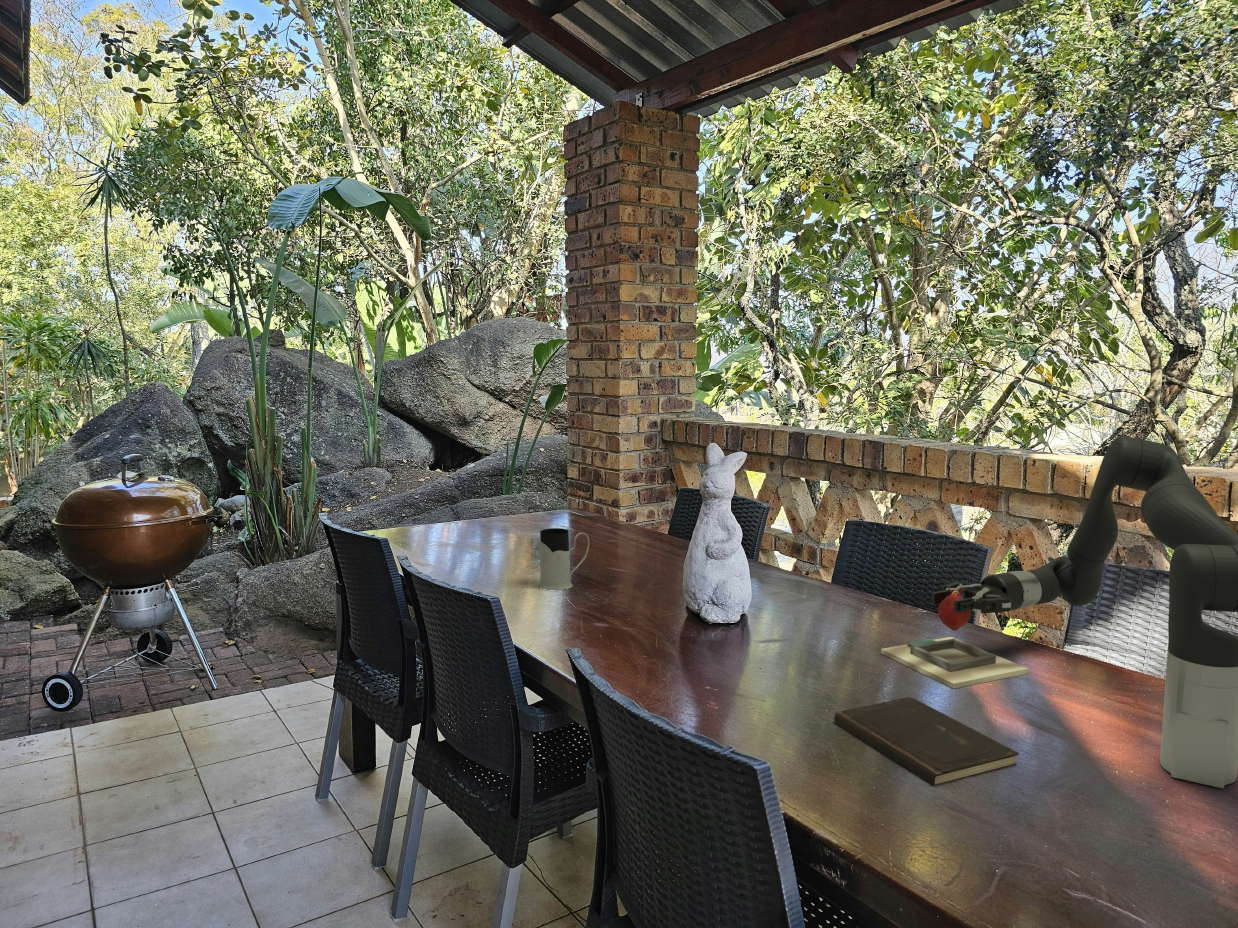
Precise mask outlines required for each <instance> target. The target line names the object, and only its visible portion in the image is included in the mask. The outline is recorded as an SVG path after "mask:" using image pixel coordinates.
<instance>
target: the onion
mask: <svg viewBox="0 0 1238 928" xmlns="http://www.w3.org/2000/svg"><path fill="white" fill-rule="evenodd" d="M960 599H964V597H963V598H961V597H960V596H959V592H958V591H953V592H952V594H951V595H949V596H947V597H946V598H945V599H944V600H943V601H942V602H941V603H939V605H938V609H937V610H938V611H937V613H938V617H939V619H940V621H941V623H942V624H943V625H944V626H945V627H947V628H948V629H950V630H951V631H953V632H955V631H958V630H959V629H961V628H962V627H964V626H965V625H966V624H968V622H969V621H970V619H971V613H972V612H971V611H972V610H968V611H963V612H955V611H954V601H955V600H960Z"/></svg>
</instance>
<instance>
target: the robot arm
mask: <svg viewBox="0 0 1238 928" xmlns="http://www.w3.org/2000/svg"><path fill="white" fill-rule="evenodd" d="M1117 486H1118V487H1123V488H1127V489H1133V490H1137V491H1140V492H1145V493H1144V494H1143V496H1142V499H1141V503H1140V512H1141V516H1142V519H1143V520H1144V521H1143V522H1145V524H1146V526H1147V528H1148V530H1149V531H1150V532H1151V534H1152V535H1153V537H1154V538H1156V540H1157V541H1159V542H1160V543H1161V544H1163V546H1166V547H1167V548H1169V549H1171V550H1173V552H1172V555H1171V558H1170V562H1169V571H1168V572H1169V573H1168V574H1169V575H1168V582H1169V583H1168V593H1169V594H1168V597H1169V598H1168V624H1167V626H1168V629H1167V631H1168V632H1167V633H1168V641H1167V652H1166V653H1167V655H1166V669H1165V682H1164V696H1163V698H1164V699H1163V711H1162V726H1161V741H1160V756H1159V764H1160V766H1161V767H1162V768H1163V770H1165V771H1166V772H1168V773H1170V776H1171V778H1174V779H1178V780H1179V779H1180V780H1184V781H1188V782H1193V783H1197V784H1201V785H1206V786H1211V787H1214V788H1220V789H1224V788H1225V786H1227V785H1230V784H1231V785H1232V784H1233V783H1234V782H1236V780H1237V775H1238V636H1237V635H1235V634H1233V633H1230V632H1227V631H1225V630H1223V629H1219V628H1217V627H1215V626H1212V625H1210V624H1208V623H1207V622H1205V621H1203V615H1202V614H1203V611H1213V612H1226V613H1228V612H1229V613H1238V534H1237V533H1236V532H1235V531H1233V530H1232V529H1231V527H1229V526H1228V525H1227V523H1225V522H1224V520H1223V519H1222V518H1221V517H1220V516H1219V515H1218V514H1217V512H1216V511H1215V509H1214V508H1213V506H1212V504H1211V503H1210V502H1209V501H1208V500H1207V499H1206V497H1205V496H1204V494H1203V493H1202V492H1201V491H1200V490H1199V489H1198V488H1197V487H1196V485H1195V484H1194V482H1193V481H1192V479H1191V478H1190V476H1188V474H1187V471H1186V469H1185V467H1184V465H1183V463H1182V461H1181V459H1180V457H1179V455H1178V453H1177V452H1176V451H1175V450H1174V448H1172V447H1171V446H1169V445H1167V444H1165V443H1162V442H1157V441H1152V440H1148V439H1147V440H1146V439H1142V438H1138V437H1133V436H1126V435H1120V436H1118V437H1116V438H1115V439H1113V440H1112V441H1111V443H1110V444H1109V445H1108V447H1107V449H1106V451H1105V453H1104V455H1103V458H1102V460H1101V463H1100V467H1099V468H1098V471H1097V474H1096V478H1095V481H1094V483H1093V485H1092V488H1091V491H1090V495H1089V499H1088V502H1087V505H1086V508H1085V511H1084V514H1083V516H1082V519H1081V521H1080V523H1079V525H1078V527H1077V529H1076V530H1075V532H1074V534H1073V536H1072V538H1071V540H1070V542H1069V544H1068V546H1067V549H1066V554H1067V556H1058V557H1055V558H1053V559H1052V560H1050V561H1049V562H1047V563H1046V564H1044V565H1041V566H1040V567H1038V568H1035V569H1027V570H1015V571H1007V572H1001V573H995V574H989V575H987V576H985V577H984V578H983V579H982V580H981V582H980V583H971V584H969V585H968V584H966V585H964V582H963V581H959V580H958V581H955V582H951V583H948V584H944V585H941V590H939V591H934V592H933V591H932V593H931V603H932V604H935V605H938V604H939V605H940V603H941V602H942V601H943V600H944V599H945V598H946V597H947V596H949V595H951V594H952V592H953V591H958V592H959V596H960V597H961V598H963V599H960V600H955V601H954V611H955V612H963V611H968V610H970V611H972V612H978V611H979V612H980V613H982V614H985V615H986V614H995V613H996V614H999V613H1006V612H1013V611H1017V610H1023V609H1027V608H1029V607H1032V606H1037V605H1042V604H1048V603H1051V602H1054V601H1055V600H1056V599H1057V598H1059V596H1061V597H1062V599H1063V600H1065V601H1066V602H1067V603H1069V604H1070V605H1071V606H1074V607H1082V606H1085V605H1088V604H1090V603H1091V602H1093V600H1094V599H1095V598H1096V596H1097V595H1098V593H1099V592H1100V589H1101V586H1102V581H1103V575H1104V574H1103V573H1104V569H1105V561H1106V560H1107V559H1108V557H1109V554H1110V553H1111V551H1112V549H1113V548H1114V546H1115V544H1116V542H1117V539H1118V536H1119V535H1118V534H1119V525H1118V520H1117V519H1118V518H1117V516H1116V513H1115V509H1114V506H1113V501H1112V499H1113V492H1114V490H1115V488H1116V487H1117Z"/></svg>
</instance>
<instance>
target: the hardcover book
mask: <svg viewBox="0 0 1238 928" xmlns="http://www.w3.org/2000/svg"><path fill="white" fill-rule="evenodd" d="M833 719H834V720H833V722H834V724H836V725H838V726H839V727H840V728H842V729H844V730H846V732H847V733H848V732H849V734H851V735H853V736H854V737H856V738H858V739H859V740H861V741H863V742H864V743H866V744H867V745H868V746H871V748H873V749H875V750H876V751H878V752H879V753H881V754H883V755H885V756H886V757H887V758H889V759H891V760H892V761H894V762H895V763H896V764H898V765H900V766H902V767H904V768H905V769H906V770H908V771H910V772H912V773H913V774H914V775H916V776H917V777H919V778H920V779H922V780H924V781H925V782H926V783H928V784H930V785H931V786H934V787H936V785H939V784H942V783H945V782H949V781H954V780H958V779H961V778H966V777H970V776H973V775H977V774H981V773H984V772H988V771H991V770H996V769H1000V768H1005V767H1008V766H1012V765H1015V763H1016V757H1017V756H1020V753H1019V752H1017V751H1016V750H1014V749H1012V748H1010V747H1008V746H1007V745H1004V744H1002V743H1001V742H999V741H996V740H995V739H992V738H991V737H989V736H987V735H985V734H984V733H981V732H979V731H977V730H975V729H973V728H972V727H969V726H967V725H966V724H964V723H962V722H960V721H958V720H956V719H954V718H953V717H951V716H949V715H946V714H944V713H943V712H941V711H939V710H938V709H935V708H933V707H931V706H930V705H928V704H926V703H923V701H921V700H919V699H916V698H915V697H912V696H908V697H903V698H897V699H892V700H889V701H884V702H878V703H873V704H869V705H865V706H860V707H855V708H850V709H846V710H840V711H836V712H835V714H834V716H833Z"/></svg>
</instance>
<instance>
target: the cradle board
mask: <svg viewBox="0 0 1238 928" xmlns="http://www.w3.org/2000/svg"><path fill="white" fill-rule="evenodd" d="M880 654H881V655H884V656H885V657H887V658H889V659H891V660H893V661H895V662H898V663H900V664H902V665H903V666H906V667H907V668H910V669H912V670H914V671H916V672H918V673H920V674H922V675H925V676H927V677H929V678H930V679H933V680H934V681H937V682H938V683H941V684H943V685H945V686H947V687H949V688H950V689H958V688H965V687H968V686H974V685H978V684H983V683H987V682H988V683H989V682H993V681H998V680H1003V679H1007V678H1013V677H1018V676H1023V675H1028V674H1029V668H1028V667H1025V666H1024V665H1023V666H1022V665H1021V664H1018V663H1016V662H1013V661H1010V660H1009V659H1006V658H1004V657H1001V656H999V655H996V654H993V653H991V652H988V651H987V650H984V649H982V648H979V647H977V646H974V645H972V644H970V643H968V642H964V641H962V640H960V639H957V638H955V637H952V636H948V637H943V638H942V637H941V638H936V639H932V638H928V639H923V640H916V641H911V642H907V643H906V644H901V645H896V646H891V647H885V648H884V647H883V648H881V649H880Z"/></svg>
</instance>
